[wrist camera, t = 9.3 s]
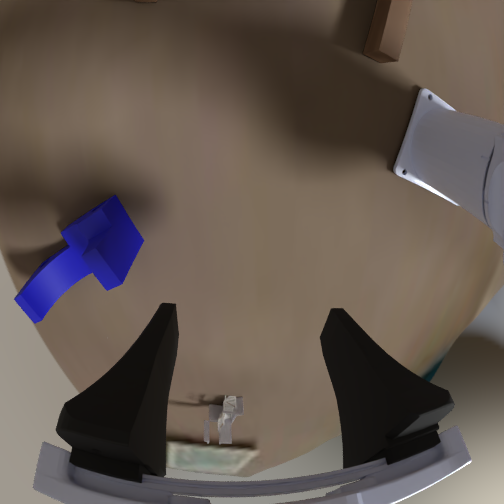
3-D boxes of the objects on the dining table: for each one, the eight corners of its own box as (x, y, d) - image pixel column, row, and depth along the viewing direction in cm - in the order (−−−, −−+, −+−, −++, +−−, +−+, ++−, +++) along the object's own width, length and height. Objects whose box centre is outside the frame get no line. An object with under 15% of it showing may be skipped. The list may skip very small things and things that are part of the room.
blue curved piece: (116, 193, 19) (82, 228, 14) (144, 239, 22) (122, 283, 17) (35, 250, 21) (3, 286, 16) (59, 284, 23) (34, 323, 18)
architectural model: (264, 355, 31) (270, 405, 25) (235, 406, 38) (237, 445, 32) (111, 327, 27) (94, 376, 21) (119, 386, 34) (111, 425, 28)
